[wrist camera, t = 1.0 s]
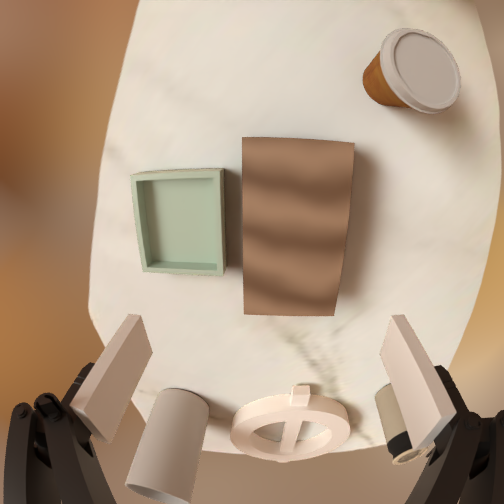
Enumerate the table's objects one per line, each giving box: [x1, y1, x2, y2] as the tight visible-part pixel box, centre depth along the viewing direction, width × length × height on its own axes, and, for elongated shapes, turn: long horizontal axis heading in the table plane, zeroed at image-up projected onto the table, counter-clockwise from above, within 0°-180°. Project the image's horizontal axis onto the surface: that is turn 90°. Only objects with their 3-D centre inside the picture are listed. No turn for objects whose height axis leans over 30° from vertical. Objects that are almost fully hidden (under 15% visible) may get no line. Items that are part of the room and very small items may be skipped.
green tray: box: [130, 168, 227, 276], centre depth 36 cm, size 14×12×3 cm
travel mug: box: [375, 384, 428, 465], centre depth 42 cm, size 8×8×18 cm
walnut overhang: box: [242, 137, 354, 316], centre depth 34 cm, size 22×12×6 cm, turn 0°
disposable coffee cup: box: [363, 28, 461, 114], centre depth 23 cm, size 10×10×12 cm
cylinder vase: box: [125, 389, 210, 504], centre depth 44 cm, size 12×12×25 cm
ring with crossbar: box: [230, 385, 350, 462], centre depth 55 cm, size 28×28×5 cm
